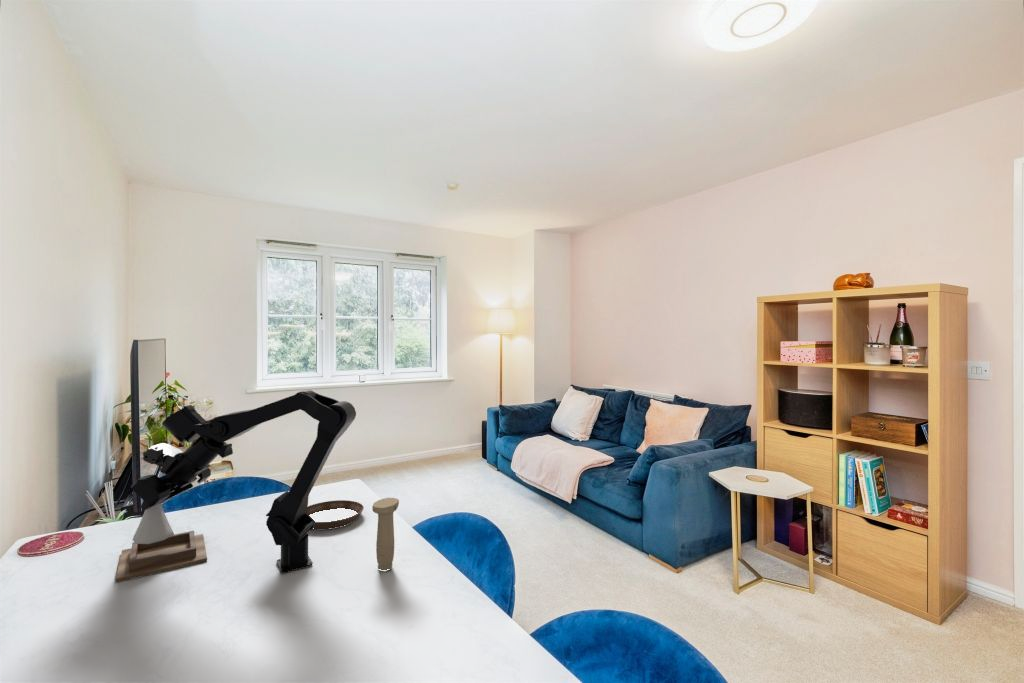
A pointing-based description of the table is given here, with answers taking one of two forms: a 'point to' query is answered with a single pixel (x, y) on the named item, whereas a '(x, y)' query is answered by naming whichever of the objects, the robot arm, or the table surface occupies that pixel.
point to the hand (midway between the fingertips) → (147, 506)
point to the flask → (153, 526)
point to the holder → (161, 556)
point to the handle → (385, 531)
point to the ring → (335, 505)
